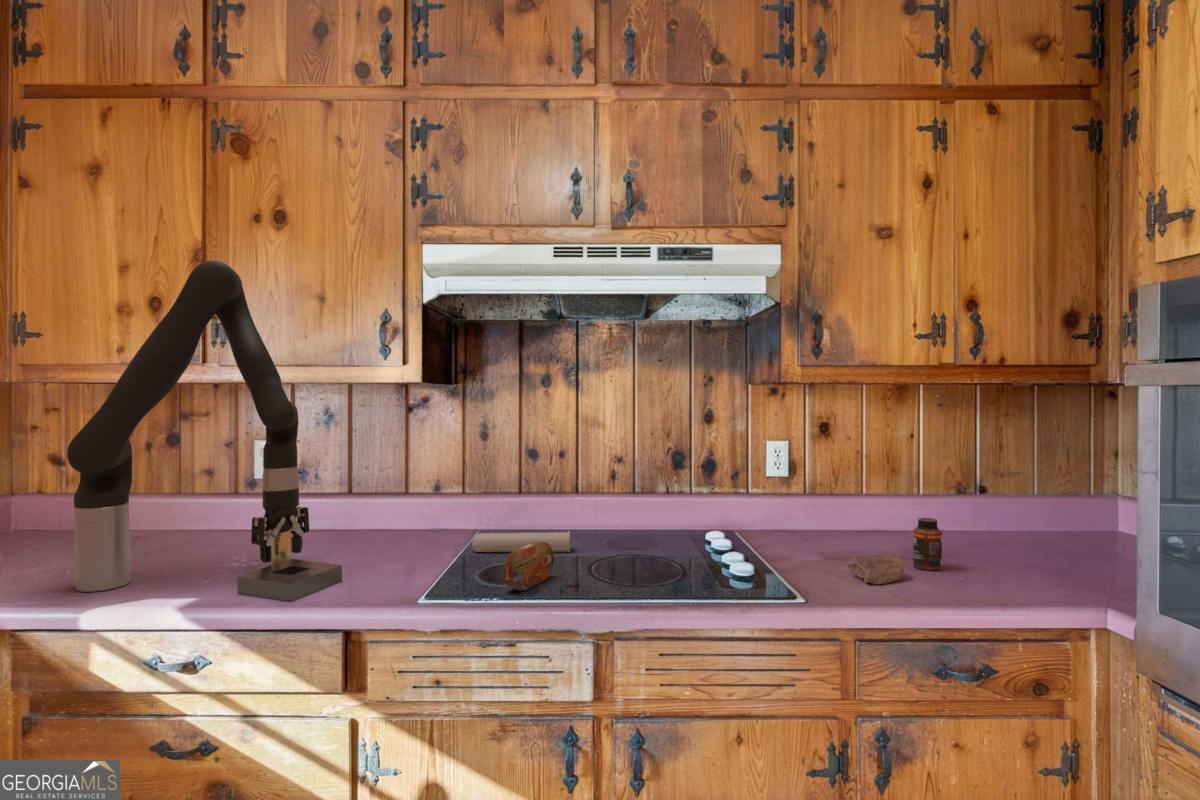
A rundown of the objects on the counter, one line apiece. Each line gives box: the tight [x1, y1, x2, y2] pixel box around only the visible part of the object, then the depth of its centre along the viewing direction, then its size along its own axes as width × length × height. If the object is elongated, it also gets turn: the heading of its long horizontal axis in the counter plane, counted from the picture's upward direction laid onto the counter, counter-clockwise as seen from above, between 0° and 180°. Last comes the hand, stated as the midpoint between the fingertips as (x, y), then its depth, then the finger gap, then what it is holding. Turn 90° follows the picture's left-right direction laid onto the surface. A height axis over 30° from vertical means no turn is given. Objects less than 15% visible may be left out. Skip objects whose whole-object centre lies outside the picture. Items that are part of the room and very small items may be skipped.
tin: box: [503, 542, 554, 592], centre depth 138 cm, size 15×3×8 cm, turn 151°
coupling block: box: [236, 558, 343, 602], centre depth 136 cm, size 14×14×4 cm
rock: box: [847, 554, 905, 585], centre depth 143 cm, size 12×10×5 cm
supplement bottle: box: [912, 517, 943, 572], centre depth 150 cm, size 6×6×11 cm
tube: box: [471, 530, 571, 554], centre depth 165 cm, size 5×5×25 cm
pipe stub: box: [271, 529, 293, 565], centre depth 149 cm, size 4×4×9 cm
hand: (281, 557), depth 149 cm, fingers open, 8 cm apart
